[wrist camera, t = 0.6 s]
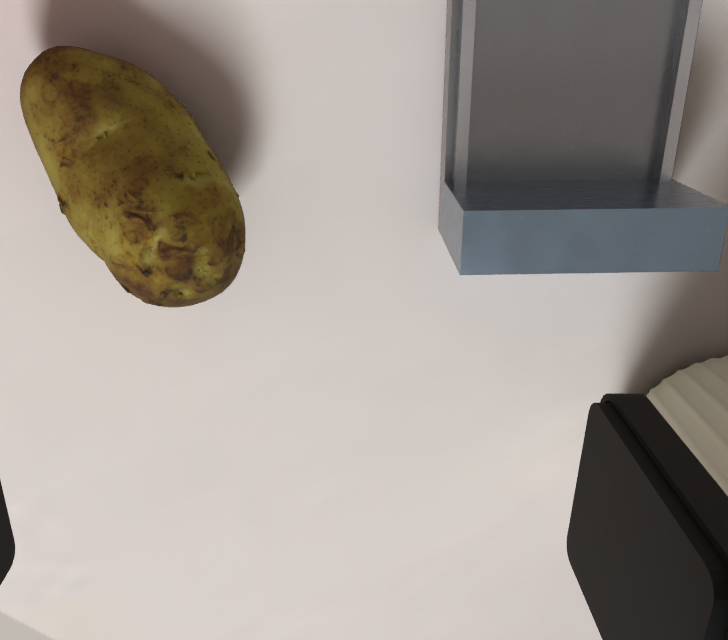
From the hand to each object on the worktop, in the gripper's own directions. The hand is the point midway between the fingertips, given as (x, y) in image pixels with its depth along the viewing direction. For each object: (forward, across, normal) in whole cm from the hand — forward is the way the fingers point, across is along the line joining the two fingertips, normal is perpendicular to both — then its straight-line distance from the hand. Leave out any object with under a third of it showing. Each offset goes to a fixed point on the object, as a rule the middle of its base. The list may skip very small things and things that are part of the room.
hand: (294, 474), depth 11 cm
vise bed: (+28, -12, -6) cm, 31 cm away
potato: (+28, +9, 0) cm, 30 cm away
